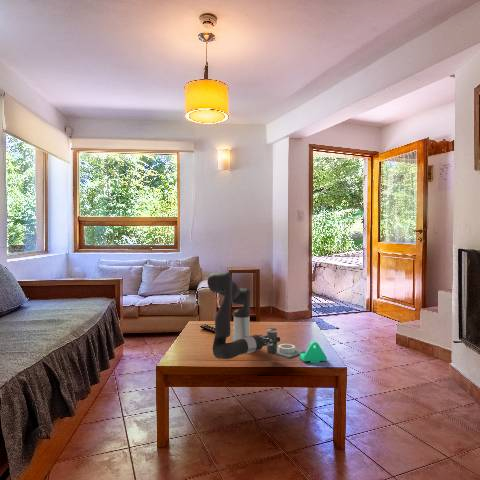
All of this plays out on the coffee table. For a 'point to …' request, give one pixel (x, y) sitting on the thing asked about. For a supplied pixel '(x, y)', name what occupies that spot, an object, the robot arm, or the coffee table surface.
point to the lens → (271, 334)
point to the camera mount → (313, 353)
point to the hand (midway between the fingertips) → (275, 337)
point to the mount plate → (297, 352)
